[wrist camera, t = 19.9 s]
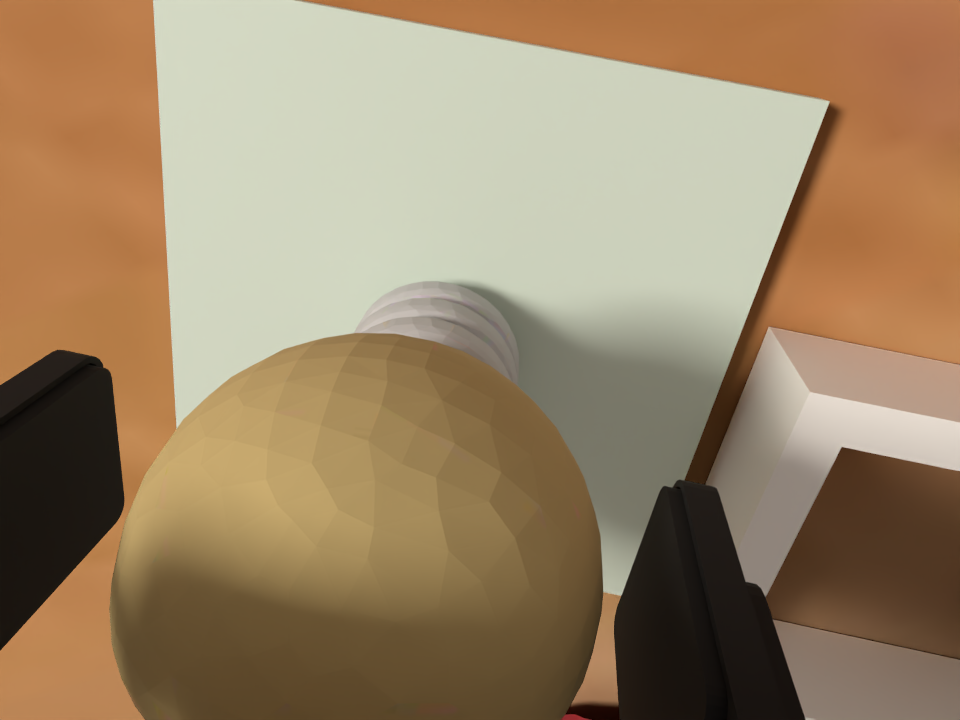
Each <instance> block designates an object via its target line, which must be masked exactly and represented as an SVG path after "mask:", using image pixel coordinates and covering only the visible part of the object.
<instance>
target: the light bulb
mask: <svg viewBox="0 0 960 720" xmlns="http://www.w3.org/2000/svg"><path fill="white" fill-rule="evenodd" d="M518 375H519V352H518V347H517V343H516V339H515V336H514V334H513V332H512V330H511V328H510V326H509V324H508V323H507V321H506V320H505V319H504V317H503V316H502V314H501V313H500V312H499V311H498V310H497V309H496V308H495V307H494V306H493V305H492V304H491V303H490V302H489V301H487V300H486V299H485V298H483V297H482V296H480V295H478V294H476V293H475V292H473V291H471V290H469V289H467V288H464V287H461V286H458V285H455V284H450V283H444V282H439V281H423V282H417V283H411V284H407V285H404V286H401V287H398V288H396V289H394V290H392V291H390V292H388V293H386V294H384V295H383V296H382V297H381V298H379V299H378V300H377V301H376V302H374V303H373V304H372V306H371V307H370V308H369V309H368V310H367V311H366V313H365V314H364V316H363V318H362V319H361V321H360V323H359V324H358V326H357V328H356V329H355V331H354V333H352V334H346V335H339V336H333V337H327V338H322V339H318V340H314V341H310V342H307V343H303V344H300V345H296V346H293V347H289V348H286V349H283V350H281V351H279V352H277V353H275V354H273V355H272V356H270V357H268V358H266V359H264V360H262V361H260V362H258V363H256V364H254V365H252V366H250V367H248V368H247V369H245V370H243V371H241V372H239V373H237V374H236V375H234V376H232V377H231V378H229V379H228V380H227V381H226V382H224V383H223V384H222V385H221V386H220V387H218V388H217V389H216V390H215V391H214V392H212V393H211V394H210V395H209V396H208V397H207V398H206V399H205V400H203V401H202V402H201V403H200V404H199V405H198V406H197V407H196V408H195V409H194V410H193V411H192V412H191V413H190V414H189V415H187V416H186V417H185V418H184V419H183V421H182V422H181V423H180V425H179V426H178V428H177V429H176V431H175V432H174V434H173V435H172V436H171V438H170V439H169V441H168V442H167V444H166V445H165V447H164V448H163V449H162V451H161V452H160V454H159V455H158V457H157V458H156V460H155V461H154V462H153V464H152V465H151V467H150V468H149V470H148V471H147V473H146V474H145V476H144V478H143V481H142V483H141V485H140V488H139V490H138V493H137V495H136V497H135V500H134V502H133V504H132V507H131V509H130V511H129V514H128V516H127V518H126V521H125V524H124V528H123V532H122V537H121V541H120V545H119V550H118V554H117V559H116V563H115V568H114V573H113V577H112V585H111V597H110V609H109V610H110V625H111V640H112V647H113V651H114V655H115V658H116V662H117V665H118V669H119V672H120V675H121V678H122V680H123V683H124V685H125V687H126V689H127V691H128V693H129V695H130V697H131V699H132V701H133V703H134V705H135V707H136V708H137V709H138V711H139V712H140V713H141V715H142V716H143V717H144V719H145V720H561V719H562V718H563V716H564V715H565V714H566V712H567V710H568V709H569V707H570V705H571V703H572V701H573V699H574V697H575V696H576V694H577V692H578V690H579V688H580V686H581V685H582V683H583V681H584V677H585V674H586V671H587V668H588V665H589V662H590V659H591V656H592V653H593V648H594V644H595V639H596V635H597V630H598V626H599V621H600V617H601V610H602V600H603V570H602V553H601V536H600V532H599V527H598V523H597V519H596V514H595V511H594V507H593V504H592V501H591V498H590V495H589V492H588V489H587V485H586V482H585V479H584V476H583V474H582V472H581V470H580V468H579V466H578V464H577V462H576V460H575V458H574V457H573V455H572V453H571V452H570V450H569V448H568V446H567V445H566V443H565V441H564V440H563V438H562V436H561V435H560V433H559V431H558V429H557V428H556V426H555V425H554V424H553V423H552V422H551V421H550V419H549V418H548V417H547V416H546V415H545V414H544V412H543V411H542V410H541V409H540V408H539V406H538V405H537V404H536V403H535V402H534V401H533V400H532V399H531V398H530V397H529V396H528V395H527V394H526V393H524V392H523V391H522V390H521V389H520V388H519V387H518Z"/></svg>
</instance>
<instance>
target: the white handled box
mask: <svg viewBox="0 0 960 720" xmlns="http://www.w3.org/2000/svg"><path fill="white" fill-rule="evenodd" d="M841 447H844V448H849V449H854V450H859V451H864V452H869V453H874V454H878V455H883V456H888V457H893V458H898V459H903V460H907V461H912V462H917V463H922V464H927V465H932V466H937V467H941V468H946V469H951V470H956V471H960V365H958V364H953V363H948V362H943V361H938V360H933V359H928V358H923V357H918V356H913V355H908V354H903V353H898V352H893V351H888V350H883V349H878V348H873V347H868V346H863V345H858V344H853V343H848V342H844V341H839V340H834V339H829V338H824V337H819V336H814V335H809V334H804V333H799V332H794V331H789V330H784V329H779V328H774V327H769V328H768V330H767V333H766V335H765V338H764V340H763V343H762V345H761V347H760V350H759V352H758V355H757V357H756V360H755V362H754V365H753V367H752V370H751V372H750V375H749V377H748V380H747V382H746V385H745V387H744V390H743V392H742V395H741V397H740V400H739V402H738V404H737V407H736V409H735V412H734V414H733V417H732V419H731V422H730V424H729V427H728V429H727V432H726V434H725V437H724V439H723V442H722V444H721V447H720V449H719V452H718V454H717V457H716V459H715V461H714V464H713V466H712V469H711V471H710V474H709V476H708V479H707V481H706V484H705V485H709V486H713V487H715V488H717V490H718V492H719V495H720V499H721V502H722V505H723V508H724V512H725V515H726V518H727V522H728V525H729V528H730V532H731V535H732V538H733V541H734V545H735V548H736V551H737V555H738V558H739V561H740V565H741V568H742V571H743V574H744V578H745V581H746V582H749V583H754V584H757V585H758V586H759V587H760V588H761V589H762V591H763V593H764V595H765V597H766V596H767V594H768V592H769V590H770V588H771V586H772V584H773V582H774V580H775V578H776V576H777V574H778V572H779V570H780V568H781V566H782V564H783V562H784V560H785V558H786V556H787V554H788V552H789V550H790V548H791V546H792V544H793V542H794V540H795V538H796V536H797V534H798V532H799V530H800V528H801V527H802V525H803V523H804V521H805V519H806V517H807V515H808V513H809V511H810V509H811V507H812V505H813V503H814V501H815V499H816V497H817V495H818V493H819V491H820V489H821V487H822V485H823V483H824V481H825V479H826V477H827V475H828V473H829V471H830V469H831V467H832V465H833V463H834V461H835V459H836V457H837V455H838V453H839V451H840V449H841ZM773 622H774V625H775V628H776V631H777V634H778V637H779V640H780V643H781V646H782V649H783V652H784V655H785V658H786V661H787V664H788V667H789V670H790V674H791V677H792V680H793V683H794V686H795V689H796V692H797V695H798V698H799V701H800V704H801V707H802V710H803V713H804V716H805V719H806V720H960V660H958V659H954V658H949V657H944V656H940V655H935V654H931V653H926V652H921V651H917V650H912V649H907V648H903V647H898V646H893V645H889V644H884V643H880V642H875V641H870V640H866V639H861V638H856V637H852V636H847V635H843V634H838V633H833V632H829V631H824V630H819V629H815V628H810V627H805V626H801V625H796V624H792V623H787V622H782V621H778V620H773Z"/></svg>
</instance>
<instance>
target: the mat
mask: <svg viewBox="0 0 960 720" xmlns="http://www.w3.org/2000/svg"><path fill="white" fill-rule="evenodd" d="M153 5H154V24H155V42H156V60H157V79H158V97H159V115H160V134H161V152H162V170H163V188H164V207H165V225H166V243H167V262H168V280H169V298H170V317H171V335H172V353H173V371H174V390H175V408H176V426H177V428H178V426H179V425H180V423H181V422H182V421H183V419H184V418H185V417H186V416H187V415H189V414H190V413H191V412H192V411H193V410H194V409H195V408H196V407H197V406H198V405H199V404H200V403H201V402H202V401H203V400H205V399H206V398H207V397H208V396H209V395H210V394H211V393H212V392H214V391H215V390H216V389H217V388H218V387H220V386H221V385H222V384H223V383H224V382H226V381H227V380H228V379H229V378H231V377H232V376H234V375H236V374H237V373H239V372H241V371H243V370H245V369H247V368H248V367H250V366H252V365H254V364H256V363H258V362H260V361H262V360H264V359H266V358H268V357H270V356H272V355H273V354H275V353H277V352H279V351H281V350H283V349H286V348H289V347H293V346H296V345H300V344H303V343H307V342H310V341H314V340H318V339H322V338H327V337H333V336H339V335H346V334H352V333H354V331H355V329H356V328H357V326H358V324H359V323H360V321H361V319H362V318H363V316H364V314H365V313H366V311H367V310H368V309H369V308H370V307H371V306H372V304H373V303H374V302H376V301H377V300H378V299H379V298H381V297H382V296H383V295H384V294H386V293H388V292H390V291H392V290H394V289H396V288H398V287H401V286H404V285H407V284H411V283H417V282H423V281H439V282H444V283H450V284H455V285H458V286H461V287H464V288H467V289H469V290H471V291H473V292H475V293H476V294H478V295H480V296H482V297H483V298H485V299H486V300H487V301H489V302H490V303H491V304H492V305H493V306H494V307H495V308H496V309H497V310H498V311H499V312H500V313H501V314H502V316H503V317H504V319H505V320H506V321H507V323H508V324H509V326H510V328H511V330H512V332H513V334H514V336H515V339H516V343H517V347H518V352H519V375H518V387H519V388H520V389H521V390H522V391H523V392H524V393H526V394H527V395H528V396H529V397H530V398H531V399H532V400H533V401H534V402H535V403H536V404H537V405H538V406H539V408H540V409H541V410H542V411H543V412H544V414H545V415H546V416H547V417H548V418H549V419H550V421H551V422H552V423H553V424H554V425H555V426H556V428H557V429H558V431H559V433H560V435H561V436H562V438H563V440H564V441H565V443H566V445H567V446H568V448H569V450H570V452H571V453H572V455H573V457H574V458H575V460H576V462H577V464H578V466H579V468H580V470H581V472H582V474H583V476H584V479H585V482H586V485H587V489H588V492H589V495H590V498H591V501H592V504H593V507H594V511H595V514H596V519H597V523H598V527H599V532H600V536H601V553H602V570H603V592H606V593H611V594H616V595H620V596H621V595H622V593H623V590H624V587H625V585H626V582H627V579H628V576H629V574H630V571H631V568H632V565H633V563H634V560H635V557H636V555H637V552H638V549H639V546H640V544H641V541H642V538H643V535H644V533H645V530H646V527H647V524H648V522H649V519H650V516H651V514H652V511H653V508H654V505H655V503H656V500H657V497H658V494H659V492H660V490H661V488H662V487H663V486H668V487H672V488H673V486H674V484H675V483H676V481H677V480H679V479H680V480H685V477H686V474H687V472H688V469H689V467H690V464H691V461H692V459H693V456H694V454H695V451H696V448H697V446H698V443H699V441H700V438H701V435H702V433H703V430H704V428H705V425H706V422H707V420H708V417H709V415H710V412H711V409H712V407H713V404H714V402H715V399H716V396H717V394H718V391H719V389H720V386H721V383H722V381H723V378H724V376H725V373H726V370H727V368H728V365H729V362H730V360H731V357H732V355H733V352H734V349H735V347H736V344H737V342H738V339H739V336H740V334H741V331H742V329H743V326H744V323H745V321H746V318H747V316H748V313H749V310H750V308H751V305H752V303H753V300H754V297H755V295H756V292H757V290H758V287H759V284H760V282H761V279H762V277H763V274H764V271H765V269H766V266H767V264H768V261H769V258H770V256H771V253H772V250H773V248H774V245H775V243H776V240H777V237H778V235H779V232H780V230H781V227H782V224H783V222H784V219H785V217H786V214H787V211H788V209H789V206H790V204H791V201H792V198H793V196H794V193H795V191H796V188H797V185H798V183H799V180H800V178H801V175H802V172H803V170H804V167H805V165H806V162H807V159H808V157H809V154H810V152H811V149H812V146H813V144H814V141H815V139H816V136H817V133H818V131H819V128H820V125H821V123H822V120H823V118H824V115H825V112H826V110H827V107H828V105H829V102H830V101H827V100H824V99H821V98H816V97H811V96H806V95H801V94H795V93H790V92H785V91H779V90H774V89H769V88H763V87H758V86H753V85H748V84H742V83H737V82H732V81H726V80H721V79H716V78H710V77H705V76H700V75H695V74H689V73H684V72H679V71H673V70H668V69H663V68H657V67H652V66H647V65H642V64H636V63H631V62H626V61H620V60H615V59H610V58H605V57H599V56H594V55H589V54H583V53H578V52H573V51H567V50H562V49H557V48H552V47H546V46H541V45H536V44H530V43H525V42H520V41H514V40H509V39H504V38H499V37H493V36H488V35H483V34H477V33H472V32H467V31H461V30H456V29H451V28H446V27H440V26H435V25H430V24H424V23H419V22H414V21H409V20H403V19H398V18H393V17H387V16H382V15H377V14H371V13H366V12H361V11H356V10H350V9H345V8H340V7H334V6H329V5H324V4H318V3H313V2H308V1H303V0H153Z"/></svg>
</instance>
